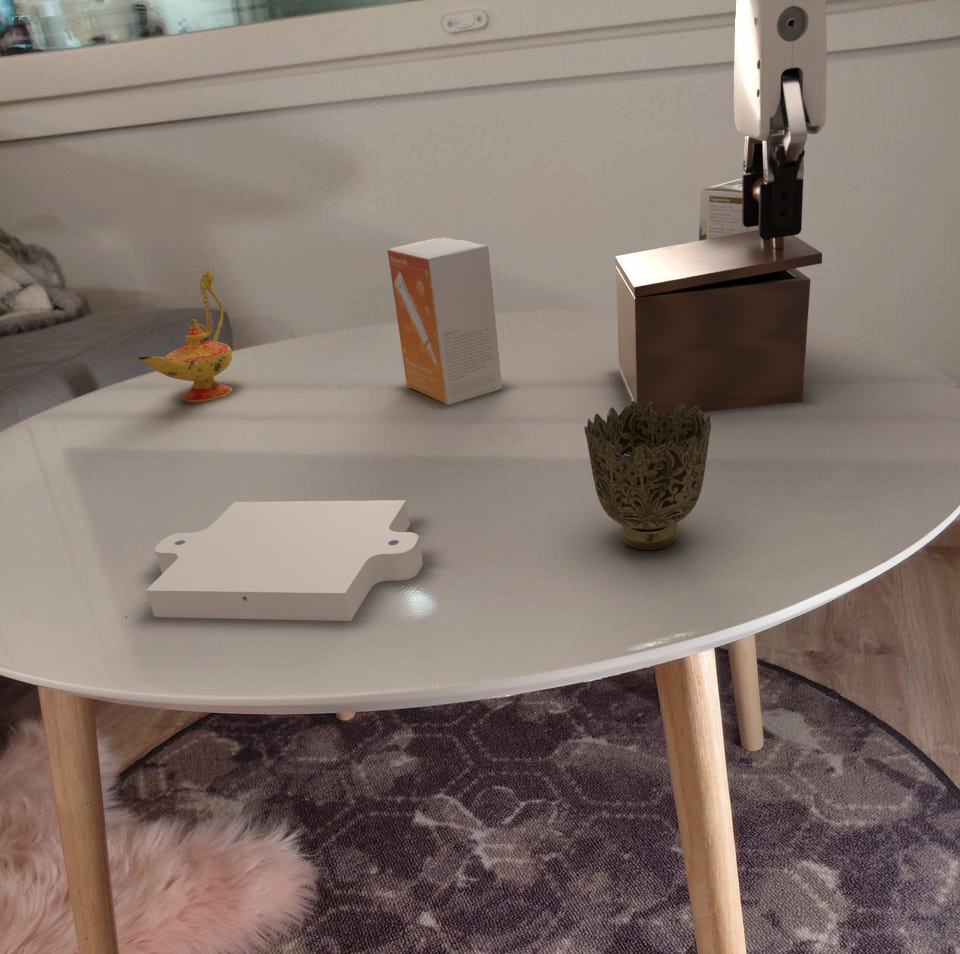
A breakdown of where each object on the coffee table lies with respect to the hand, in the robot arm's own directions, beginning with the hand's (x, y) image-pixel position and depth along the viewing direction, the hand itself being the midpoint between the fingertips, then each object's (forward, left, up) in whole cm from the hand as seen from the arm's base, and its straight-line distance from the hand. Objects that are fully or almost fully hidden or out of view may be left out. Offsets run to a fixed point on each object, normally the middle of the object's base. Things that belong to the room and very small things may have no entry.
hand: (770, 227), depth 79 cm
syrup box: (-3, -13, -13) cm, 18 cm away
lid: (+5, -1, -2) cm, 5 cm away
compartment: (+5, -1, -13) cm, 14 cm away
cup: (+19, +26, -13) cm, 35 cm away
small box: (+26, -12, -13) cm, 31 cm away
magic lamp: (+51, -22, -13) cm, 57 cm away
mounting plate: (+42, +21, -13) cm, 49 cm away
